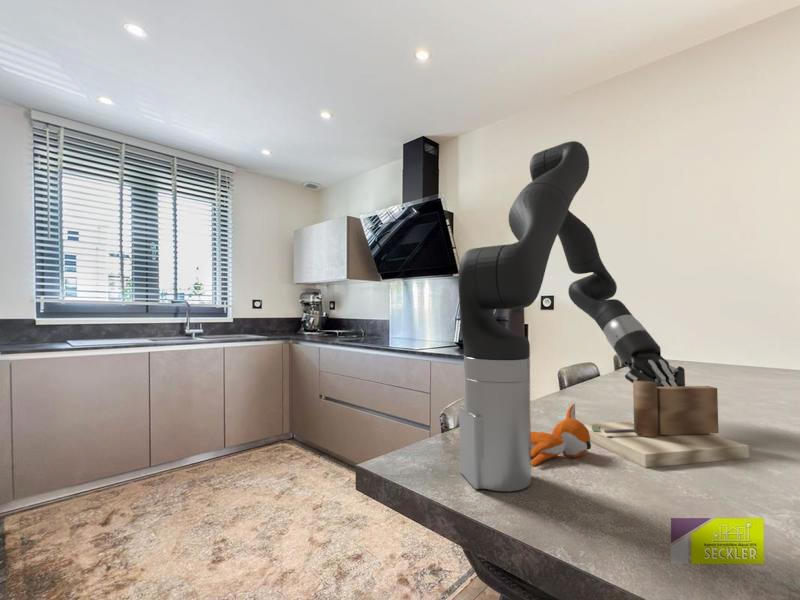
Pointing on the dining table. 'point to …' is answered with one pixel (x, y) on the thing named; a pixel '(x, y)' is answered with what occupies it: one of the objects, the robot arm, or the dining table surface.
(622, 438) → the light wood flat board
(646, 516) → the dining table surface
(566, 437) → the toy
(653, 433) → the brown piece
